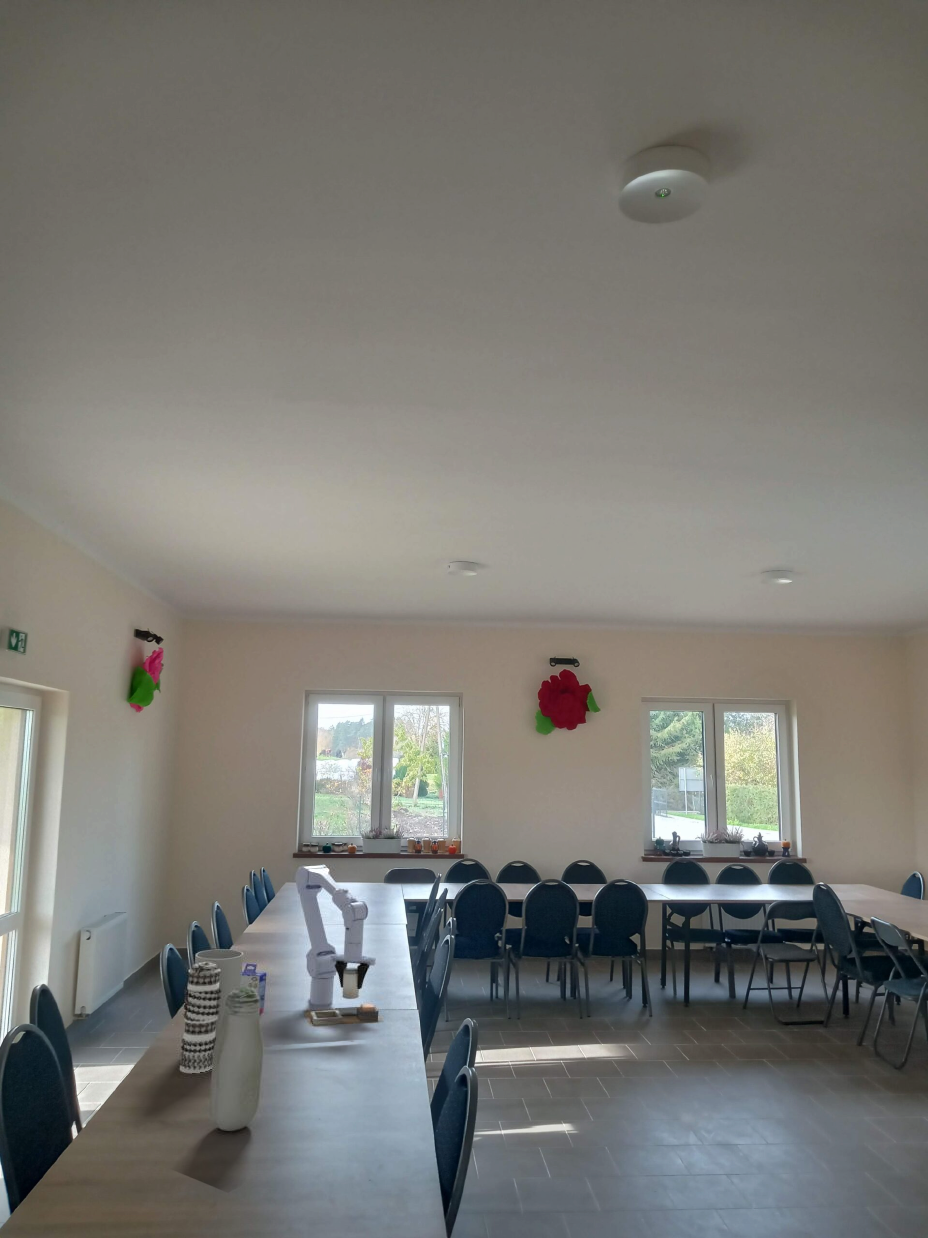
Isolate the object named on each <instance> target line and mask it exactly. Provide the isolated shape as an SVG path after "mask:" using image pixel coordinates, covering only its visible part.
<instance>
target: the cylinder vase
mask: <svg viewBox="0 0 928 1238" xmlns="http://www.w3.org/2000/svg"><path fill="white" fill-rule="evenodd" d="M194 959H195V960H194V964H196V963H199V962H213V963H216V964H217V966H218V968H220V969H221V971H219V988H218V989H220V990H221V993H219V994H218V995H219V996H220V997H221V998H220V999H219V1000H217V1003H218V1004H219V1005H220V1006H219V1007H218V1008H217V1009H216V1010H218V1011H219V1013H218V1014H217V1015H218V1019H217V1020H216V1023H215V1029H216V1032H215V1037H216V1038H217V1035H218V1032H219V1030H220V1027H221V1023H222V1019H223V1015H224V1012H225V1001H226V999H227V997H228V995H229V994H230V993H231V992H232V991H233V990H235V989H238V988H241V978H242V971H243V964H244V963H243V962H244V961H243V960H244V952H242V951H239V950H236V949H228V948H227V949H226V948H225V949H223V948H220V949H219V948H218V949H209V950H208V949H207V950H202V951H198V952H197V953H195V958H194ZM215 1042H216V1041H215ZM215 1042H214V1043H215Z"/></svg>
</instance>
